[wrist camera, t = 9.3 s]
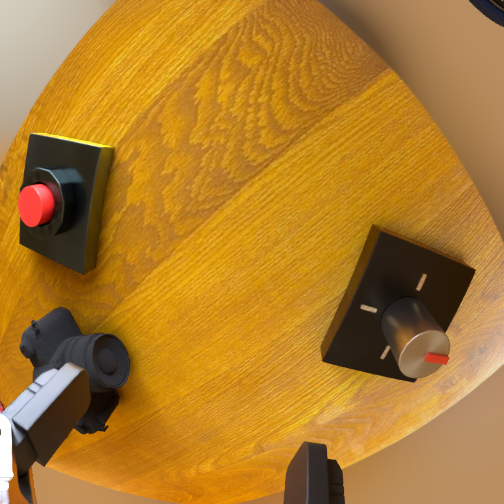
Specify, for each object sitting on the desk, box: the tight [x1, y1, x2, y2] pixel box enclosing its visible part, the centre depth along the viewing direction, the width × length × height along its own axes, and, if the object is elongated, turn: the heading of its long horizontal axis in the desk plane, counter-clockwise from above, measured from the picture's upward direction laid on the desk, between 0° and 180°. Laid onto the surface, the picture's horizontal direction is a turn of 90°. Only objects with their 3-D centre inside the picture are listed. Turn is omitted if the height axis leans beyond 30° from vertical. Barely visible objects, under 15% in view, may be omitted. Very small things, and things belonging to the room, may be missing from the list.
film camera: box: [20, 307, 130, 434], centre depth 27 cm, size 15×10×9 cm, turn 20°
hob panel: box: [321, 225, 476, 382], centre depth 24 cm, size 12×10×3 cm
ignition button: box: [18, 184, 55, 227], centre depth 22 cm, size 4×4×2 cm
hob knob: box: [381, 297, 450, 378], centre depth 20 cm, size 4×4×6 cm
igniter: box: [19, 133, 114, 275], centre depth 25 cm, size 12×10×4 cm
